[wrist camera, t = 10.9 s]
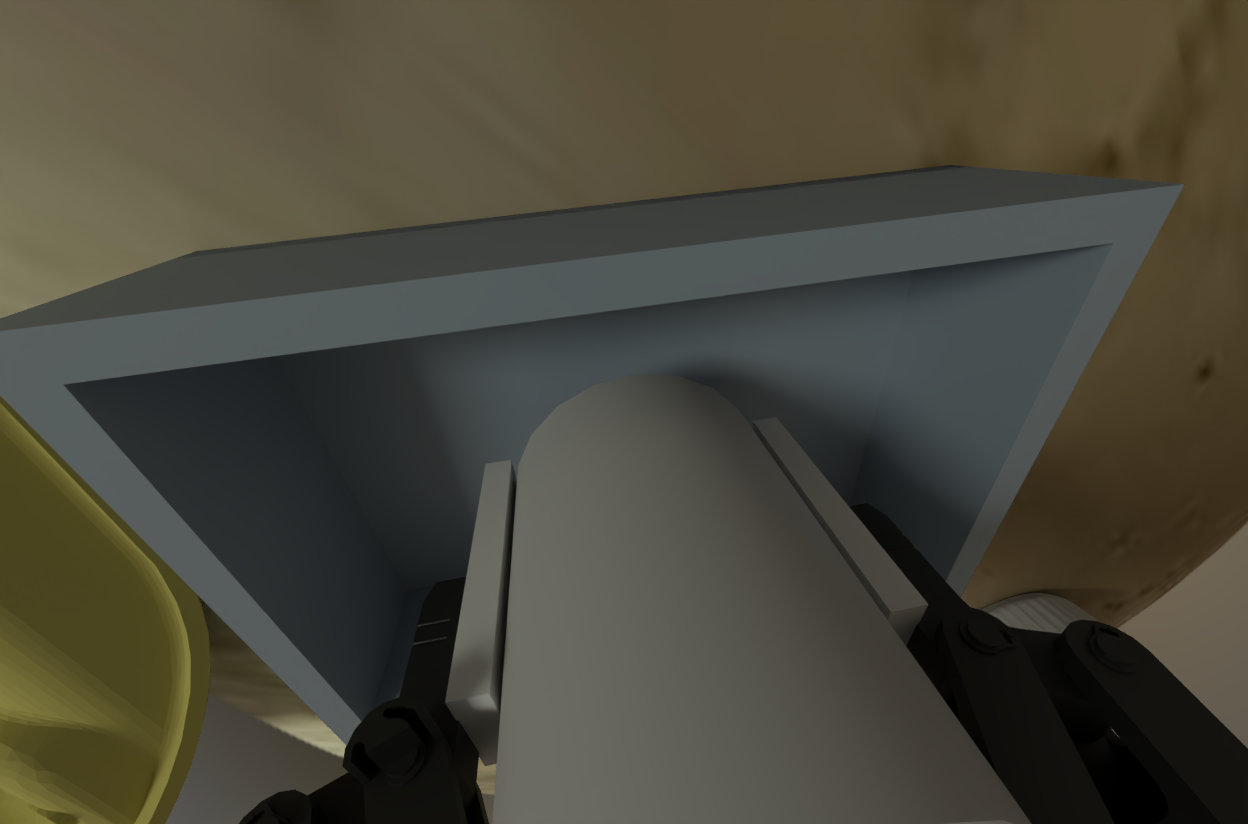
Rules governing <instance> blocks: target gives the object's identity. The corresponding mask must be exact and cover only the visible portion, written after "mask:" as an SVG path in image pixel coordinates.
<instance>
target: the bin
mask: <svg viewBox="0 0 1248 824" xmlns="http://www.w3.org/2000/svg"><path fill="white" fill-rule="evenodd" d="M1184 185H1185V184H1177V183H1164V182H1152V181H1140V180H1128V179H1115V178H1103V177H1091V176H1078V175H1066V174H1054V173H1041V172H1029V171H1017V170H1005V169H992V168H980V167H968V166H955V165H948V166H939V167H930V168H922V169H913V170H904V171H895V172H887V173H878V174H869V175H860V176H852V177H843V178H834V179H825V180H817V181H808V182H799V183H790V184H782V185H773V186H764V187H755V188H747V189H738V190H729V191H720V192H712V193H703V194H694V195H685V196H677V197H668V198H659V199H650V200H641V201H633V202H624V203H615V204H606V205H598V206H589V207H580V208H571V209H563V210H554V211H545V212H536V213H528V214H519V215H510V216H501V217H493V218H484V219H475V220H466V221H458V222H449V223H440V224H431V225H423V226H414V227H405V228H396V229H388V230H379V231H370V232H361V233H353V234H344V235H335V236H326V237H318V238H309V239H300V240H291V241H282V242H274V243H265V244H256V245H247V246H239V247H230V248H221V249H212V250H204V251H195V252H193V253H190V254H187V255H184V256H181V257H178V258H175V259H172V260H169V261H166V262H164V263H161V264H158V265H155V266H152V267H149V268H146V269H143V270H140V271H137V272H134V273H132V274H129V275H126V276H123V277H120V278H117V279H114V280H111V281H108V282H105V283H102V284H100V285H97V286H94V287H91V288H88V289H85V290H82V291H79V292H76V293H73V294H71V295H68V296H65V297H62V298H59V299H56V300H53V301H50V302H47V303H44V304H41V305H39V306H36V307H33V308H30V309H27V310H24V311H21V312H18V313H15V314H12V315H10V316H7V317H4V318H1V319H0V396H1V397H2V398H3V399H4V400H5V401H6V402H7V403H8V404H9V405H10V406H11V407H12V408H13V409H14V410H15V411H16V412H17V413H18V414H19V415H20V416H21V417H22V418H23V419H24V420H25V421H26V422H27V423H28V424H29V425H30V426H31V427H32V428H33V429H34V430H35V431H36V432H37V433H38V434H39V435H40V436H41V437H42V438H43V439H44V440H45V441H46V442H47V443H48V444H49V445H50V446H51V447H52V448H53V449H54V450H55V451H56V452H57V453H58V454H59V455H60V456H61V457H62V458H63V459H64V460H65V461H66V462H67V463H68V464H69V465H70V466H71V467H72V469H73V470H74V471H75V472H76V473H77V474H78V475H79V476H80V477H81V478H82V479H83V480H84V481H85V482H86V483H87V484H88V485H89V486H90V487H91V488H92V489H93V490H94V491H95V492H96V493H97V494H98V495H99V496H100V497H101V498H102V499H103V500H104V501H105V502H106V503H107V504H108V505H109V506H110V507H111V508H112V509H113V510H114V511H115V512H116V513H117V514H118V515H119V516H120V517H121V518H122V519H123V520H124V521H125V522H126V523H127V524H128V525H129V526H130V527H131V528H132V529H133V530H134V531H135V532H136V533H137V534H138V535H139V536H140V537H141V538H142V539H143V540H144V541H145V542H146V543H147V544H148V545H149V546H150V547H151V548H152V549H153V550H154V551H155V552H156V553H157V554H158V555H159V556H160V557H161V558H162V559H163V560H164V561H165V562H166V563H167V564H168V565H169V566H170V567H171V568H172V569H173V571H174V572H175V573H176V574H177V575H178V576H179V577H180V578H181V579H182V580H183V581H184V582H185V583H186V584H187V585H188V586H189V587H190V588H191V589H192V590H193V591H194V592H195V593H196V594H197V595H198V596H199V597H200V598H201V599H202V600H203V601H204V602H205V603H206V604H207V605H208V606H209V607H210V608H211V609H212V610H213V611H214V612H215V613H216V614H217V615H218V616H219V617H220V618H221V619H222V620H223V621H224V622H225V623H226V624H227V625H228V626H229V627H230V628H231V629H232V630H233V631H234V632H235V633H236V634H237V635H238V636H239V637H240V638H241V639H242V640H243V641H244V642H245V643H246V644H247V645H248V646H249V647H250V648H251V649H252V650H253V651H254V652H255V653H256V654H257V655H258V656H259V657H260V658H261V659H262V660H263V661H264V662H265V663H266V664H267V665H268V666H269V667H270V668H271V669H272V670H273V671H274V672H275V674H276V675H277V676H278V677H279V678H280V679H281V680H282V681H283V682H284V683H285V684H286V685H287V686H288V687H289V688H290V689H291V690H292V691H293V692H294V693H295V694H296V695H297V696H298V697H299V698H300V699H301V700H302V701H303V702H304V703H305V704H306V705H307V706H308V707H309V708H310V709H311V710H312V711H313V712H314V713H315V714H316V715H317V716H318V717H319V718H320V719H321V720H322V721H323V722H324V723H325V724H326V725H327V726H328V727H329V728H330V729H331V730H332V731H333V732H334V733H335V734H336V735H337V736H338V737H339V738H340V739H341V740H342V741H343V742H344V743H345V744H346V745H347V744H348V742H349V740H350V738H351V736H352V734H353V732H354V730H355V729H356V728H357V726H358V725H359V724H360V723H361V722H362V720H363V719H364V718H365V717H366V716H367V714H369V713H370V712H371V711H373V710H374V709H376V708H377V707H378V706H380V705H381V704H382V703H385V702H387V701H390V700H393V699H395V698H398V697H399V696H400V692H401V688H402V684H403V680H404V676H405V672H406V668H407V664H408V660H409V656H410V652H411V648H412V647H413V640H414V636H415V632H416V629H417V628H418V620H419V617H420V613H421V609H422V605H423V602H424V600H425V599H426V597H427V596H428V594H429V593H430V591H431V590H432V588H433V587H434V585H435V584H436V582H440V581H445V580H451V579H456V578H462V577H466V576H467V570H468V564H469V558H470V552H471V547H472V541H473V535H474V529H475V523H476V517H477V511H478V505H479V499H480V493H481V488H482V482H483V476H484V470H485V464H488V463H494V462H500V461H506V460H512V464H513V468H514V471H515V475H516V478H517V475H518V465H519V463H520V460H521V458H522V456H523V453H524V451H525V448H526V446H527V444H528V441H529V439H530V436H531V434H532V433H533V432H534V431H535V430H536V429H537V428H538V427H539V426H540V425H541V424H542V422H543V421H544V420H545V419H546V418H547V417H548V416H549V415H550V414H551V413H552V412H553V411H554V409H555V408H556V407H557V406H559V405H560V404H562V403H564V402H566V401H567V400H569V399H571V398H573V397H574V396H576V395H578V394H579V393H581V392H583V391H585V390H586V389H588V388H590V387H592V386H593V385H596V384H600V383H604V382H608V381H612V380H616V379H620V378H624V377H628V376H632V375H636V374H641V375H669V376H680V377H683V378H686V379H689V380H691V381H694V382H697V383H700V384H703V385H705V386H708V387H711V388H714V389H715V390H716V391H717V392H719V393H720V394H721V395H722V396H723V397H724V398H726V399H727V400H728V401H729V402H730V403H731V404H733V405H734V406H735V407H736V408H737V409H739V411H740V412H741V413H742V415H743V416H744V418H745V419H746V420H747V422H748V423H749V425H750V426H751V428H752V427H753V421H756V420H762V419H768V418H774V417H776V418H777V419H778V420H779V421H780V422H781V424H782V425H783V426H784V427H785V429H786V430H787V431H788V432H789V433H790V435H791V436H792V437H793V438H794V440H795V441H796V442H797V443H798V445H799V446H800V447H801V448H802V449H803V451H804V452H805V453H806V454H807V456H808V457H809V458H810V459H811V461H812V462H813V463H814V464H815V465H816V467H817V468H818V469H819V470H820V472H821V473H822V474H823V475H824V477H825V478H826V479H827V480H828V481H829V483H830V484H831V485H832V486H833V488H834V489H835V490H836V491H837V493H838V494H839V495H840V496H841V497H842V499H843V500H844V501H845V502H846V504H847V505H848V506H854V505H859V504H865V503H868V504H870V505H871V506H873V507H874V508H876V509H877V510H879V511H880V512H882V513H884V514H885V515H887V516H888V517H889V518H890V519H891V521H892V522H893V523H894V524H895V525H896V526H897V527H898V528H899V530H900V531H901V532H902V535H903V536H904V535H905V536H906V537H907V539H908V540H909V541H910V542H911V543H912V544H913V545H914V548H915V549H917V550H918V551H919V552H920V553H921V554H922V555H923V556H924V558H925V559H926V560H927V561H928V562H929V563H930V564H931V565H932V567H933V568H934V569H935V570H936V571H937V572H938V573H939V574H940V575H941V577H942V578H943V579H944V580H945V581H946V582H947V583H948V584H949V586H950V587H951V588H952V589H953V590H954V591H955V592H956V593H957V595H958V596H959V597H960V598H961V596H962V594H963V592H964V590H965V589H966V587H967V585H968V583H969V581H970V579H971V577H972V576H973V574H974V572H975V570H976V568H977V566H978V565H979V563H980V561H981V559H982V557H983V555H984V554H985V552H986V550H987V548H988V546H989V544H990V542H991V541H992V539H993V537H994V535H995V533H996V531H997V530H998V528H999V526H1000V524H1001V522H1002V520H1003V519H1004V517H1005V515H1006V513H1007V511H1008V509H1009V507H1010V506H1011V504H1012V502H1013V500H1014V498H1015V496H1016V495H1017V493H1018V491H1019V489H1020V487H1021V485H1022V483H1023V482H1024V480H1025V478H1026V476H1027V474H1028V472H1029V471H1030V469H1031V467H1032V465H1033V463H1034V461H1035V460H1036V458H1037V456H1038V454H1039V452H1040V450H1041V448H1042V447H1043V445H1044V443H1045V441H1046V439H1047V437H1048V436H1049V434H1050V432H1051V430H1052V428H1053V426H1054V424H1055V423H1056V421H1057V419H1058V417H1059V415H1060V413H1061V412H1062V410H1063V408H1064V406H1065V404H1066V402H1067V401H1068V399H1069V397H1070V395H1071V393H1072V391H1073V389H1074V388H1075V386H1076V384H1077V382H1078V380H1079V378H1080V377H1081V375H1082V373H1083V371H1084V369H1085V367H1086V366H1087V364H1088V362H1089V360H1090V358H1091V356H1092V354H1093V353H1094V351H1095V349H1096V347H1097V345H1098V343H1099V342H1100V340H1101V338H1102V336H1103V334H1104V332H1105V330H1106V329H1107V327H1108V325H1109V323H1110V321H1111V319H1112V318H1113V316H1114V314H1115V312H1116V310H1117V308H1118V307H1119V305H1120V303H1121V301H1122V299H1123V297H1124V295H1125V294H1126V292H1127V290H1128V288H1129V286H1130V284H1131V283H1132V281H1133V279H1134V277H1135V275H1136V273H1137V271H1138V270H1139V268H1140V266H1141V264H1142V262H1143V260H1144V259H1145V257H1146V255H1147V253H1148V251H1149V249H1150V248H1151V246H1152V244H1153V242H1154V240H1155V238H1156V236H1157V235H1158V233H1159V231H1160V229H1161V227H1162V225H1163V224H1164V222H1165V220H1166V218H1167V216H1168V214H1169V212H1170V211H1171V209H1172V207H1173V205H1174V203H1175V201H1176V200H1177V198H1178V196H1179V194H1180V192H1181V190H1182V189H1183V187H1184Z"/></svg>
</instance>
